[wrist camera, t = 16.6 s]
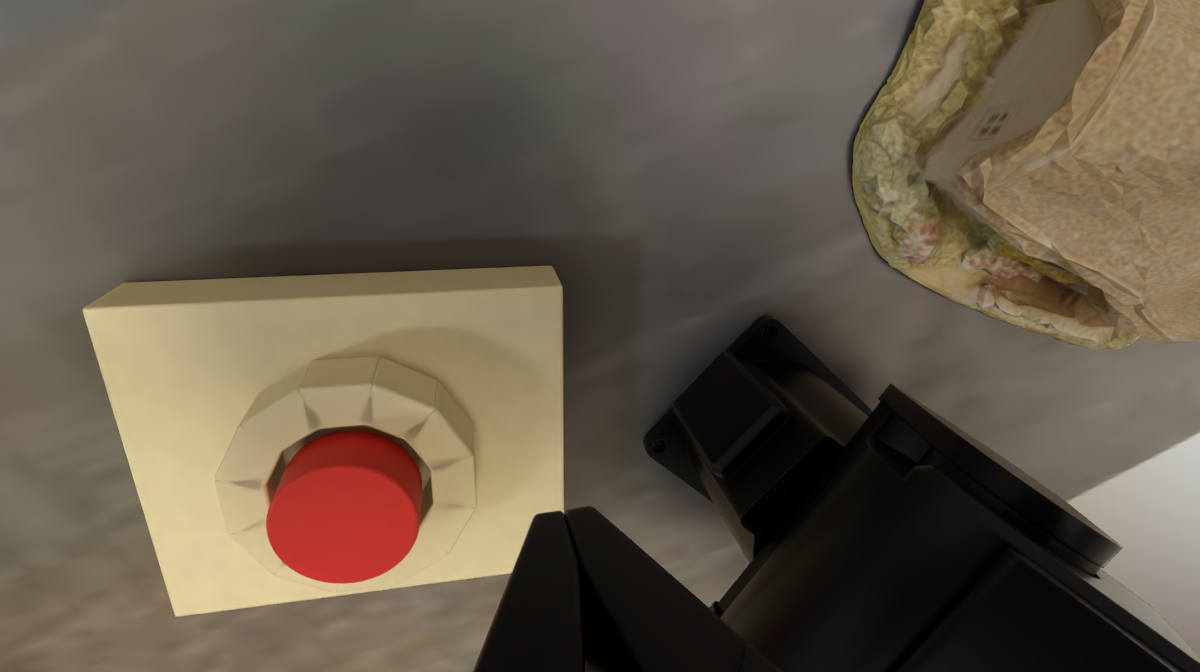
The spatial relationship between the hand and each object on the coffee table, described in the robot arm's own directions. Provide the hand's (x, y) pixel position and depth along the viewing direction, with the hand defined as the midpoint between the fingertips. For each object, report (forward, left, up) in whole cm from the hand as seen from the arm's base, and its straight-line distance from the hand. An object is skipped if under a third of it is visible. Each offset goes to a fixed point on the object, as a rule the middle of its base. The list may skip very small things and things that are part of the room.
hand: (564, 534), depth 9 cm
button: (0, +6, -8) cm, 10 cm away
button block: (0, +6, -12) cm, 14 cm away
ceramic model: (-11, -15, -12) cm, 22 cm away
